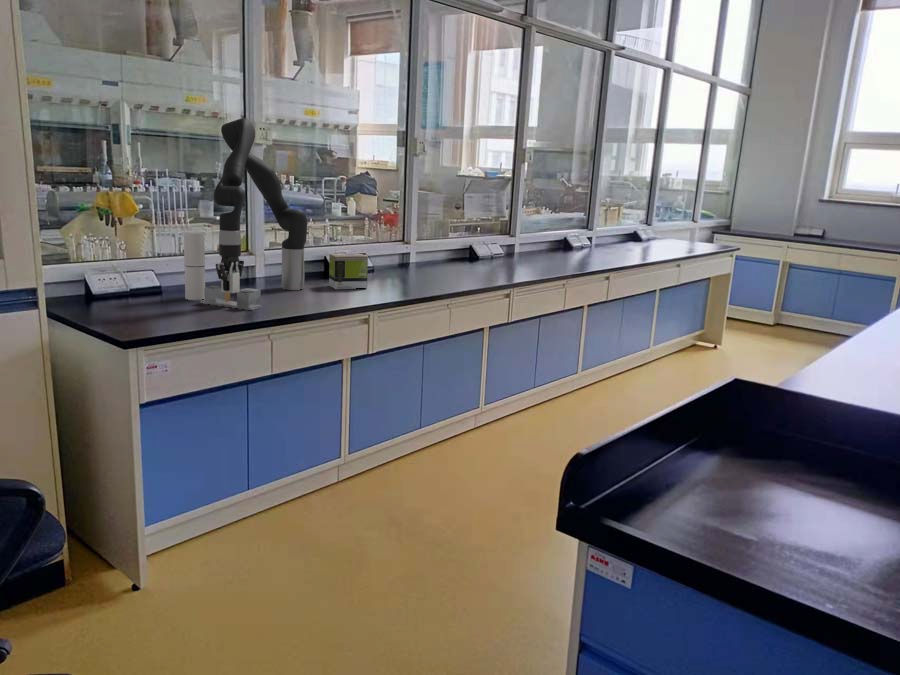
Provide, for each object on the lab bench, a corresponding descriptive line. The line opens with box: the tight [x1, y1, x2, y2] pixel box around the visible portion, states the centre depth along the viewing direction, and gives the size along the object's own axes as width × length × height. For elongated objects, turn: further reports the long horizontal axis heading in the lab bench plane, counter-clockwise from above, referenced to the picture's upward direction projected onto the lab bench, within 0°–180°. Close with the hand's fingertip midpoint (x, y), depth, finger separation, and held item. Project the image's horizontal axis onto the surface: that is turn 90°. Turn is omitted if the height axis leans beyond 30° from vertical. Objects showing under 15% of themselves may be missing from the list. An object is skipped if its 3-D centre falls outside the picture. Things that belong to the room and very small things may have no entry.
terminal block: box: [225, 292, 231, 301], centre depth 262 cm, size 3×4×4 cm
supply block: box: [240, 287, 262, 300], centre depth 268 cm, size 6×6×4 cm
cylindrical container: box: [183, 230, 206, 301], centre depth 258 cm, size 7×7×25 cm
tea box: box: [328, 253, 369, 290], centre depth 303 cm, size 15×10×15 cm
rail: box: [199, 285, 262, 311], centre depth 252 cm, size 6×22×6 cm, turn 71°
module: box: [220, 271, 241, 294], centre depth 250 cm, size 4×5×7 cm
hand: (230, 289), depth 251 cm, fingers closed on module, 4 cm apart
